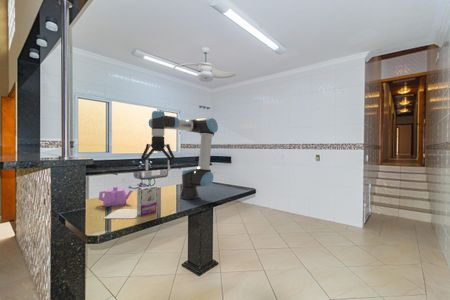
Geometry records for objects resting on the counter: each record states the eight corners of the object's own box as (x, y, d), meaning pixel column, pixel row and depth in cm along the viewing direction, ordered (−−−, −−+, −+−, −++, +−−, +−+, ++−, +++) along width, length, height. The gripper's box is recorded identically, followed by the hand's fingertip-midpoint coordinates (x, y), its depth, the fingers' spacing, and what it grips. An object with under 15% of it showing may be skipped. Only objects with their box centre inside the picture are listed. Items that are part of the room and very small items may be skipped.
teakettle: (96, 205, 158) (96, 187, 158) (118, 200, 173) (118, 184, 173) (112, 208, 150) (112, 190, 150) (133, 202, 165) (133, 186, 165)
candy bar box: (152, 210, 145) (153, 185, 144) (156, 212, 142) (157, 186, 141) (136, 214, 136) (137, 187, 135) (140, 216, 133) (141, 189, 132)
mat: (145, 209, 148) (145, 209, 148) (134, 218, 130) (134, 218, 130) (117, 209, 147) (117, 209, 147) (103, 218, 129) (103, 218, 129)
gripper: (179, 136, 142) (179, 169, 143) (140, 136, 142) (140, 169, 142) (177, 136, 135) (176, 171, 135) (135, 135, 134) (135, 171, 135)
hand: (158, 170), depth 139 cm, fingers open, 13 cm apart
